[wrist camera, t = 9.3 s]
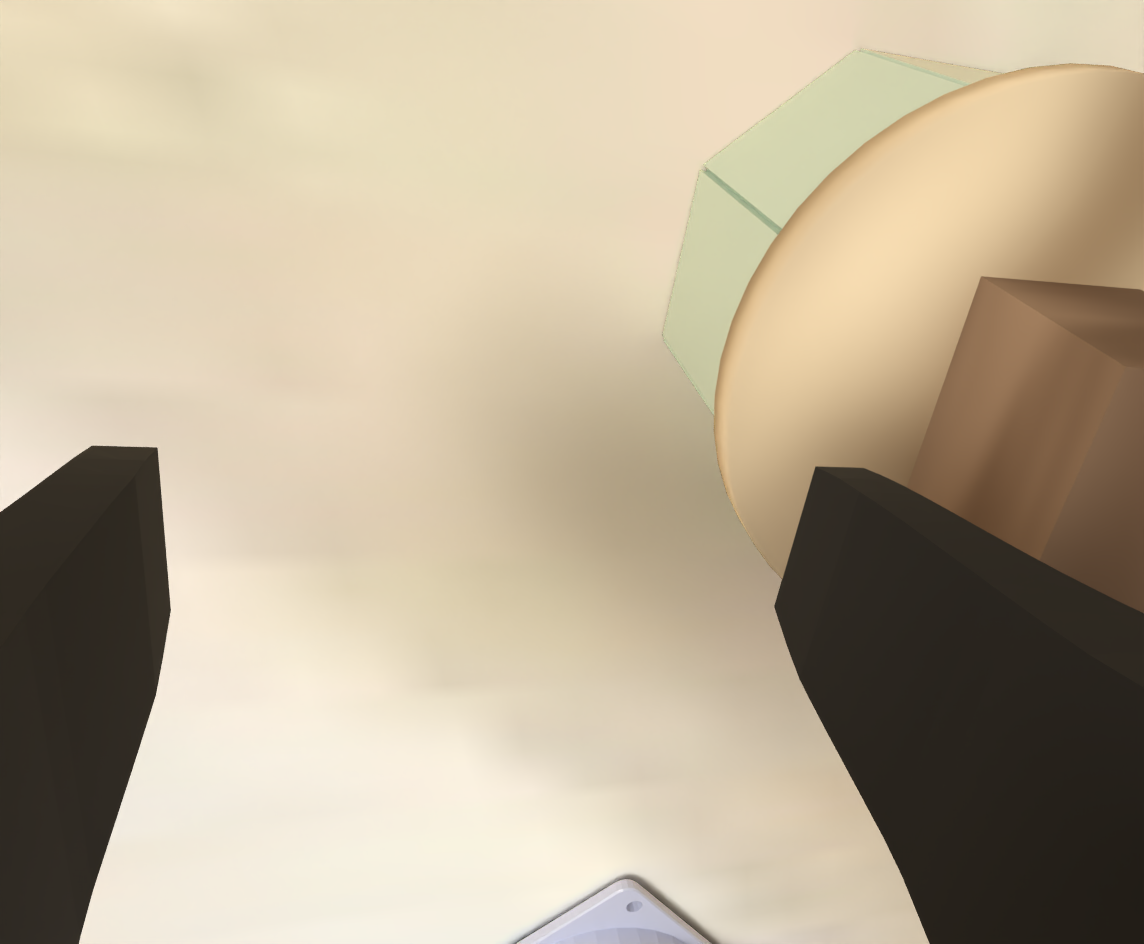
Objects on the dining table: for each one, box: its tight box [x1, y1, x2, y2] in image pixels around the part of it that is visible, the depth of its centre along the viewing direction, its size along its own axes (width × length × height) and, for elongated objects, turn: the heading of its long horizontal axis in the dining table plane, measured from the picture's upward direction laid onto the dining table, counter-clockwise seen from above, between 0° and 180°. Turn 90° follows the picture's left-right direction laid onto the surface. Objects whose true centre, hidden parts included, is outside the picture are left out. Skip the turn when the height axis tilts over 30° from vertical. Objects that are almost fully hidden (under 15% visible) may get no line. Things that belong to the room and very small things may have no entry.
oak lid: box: [714, 63, 1144, 613], centre depth 16 cm, size 10×10×4 cm
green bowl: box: [662, 48, 1004, 416], centre depth 20 cm, size 9×9×5 cm
